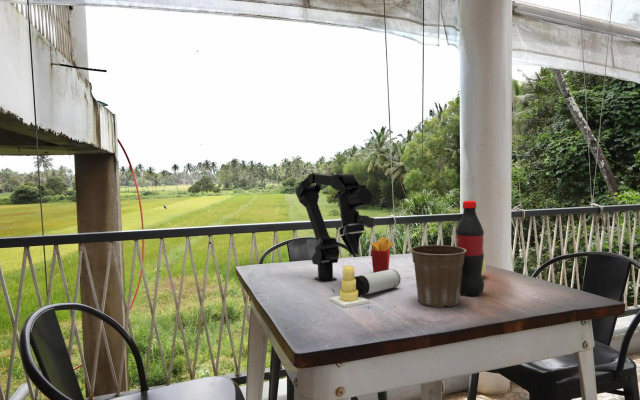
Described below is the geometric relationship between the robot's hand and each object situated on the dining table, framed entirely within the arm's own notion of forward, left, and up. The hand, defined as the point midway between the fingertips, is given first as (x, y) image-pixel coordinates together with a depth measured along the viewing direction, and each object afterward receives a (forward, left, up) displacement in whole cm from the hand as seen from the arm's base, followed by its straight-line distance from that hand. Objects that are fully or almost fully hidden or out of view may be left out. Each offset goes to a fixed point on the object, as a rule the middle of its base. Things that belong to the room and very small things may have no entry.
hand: (354, 254), depth 144 cm
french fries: (-14, +22, -12) cm, 28 cm away
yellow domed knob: (+12, -9, -11) cm, 19 cm away
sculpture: (+7, +46, -12) cm, 48 cm away
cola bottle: (+24, +29, -12) cm, 39 cm away
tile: (+12, -9, -12) cm, 20 cm away
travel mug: (+5, +13, -9) cm, 16 cm away
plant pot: (+26, +14, -12) cm, 32 cm away
